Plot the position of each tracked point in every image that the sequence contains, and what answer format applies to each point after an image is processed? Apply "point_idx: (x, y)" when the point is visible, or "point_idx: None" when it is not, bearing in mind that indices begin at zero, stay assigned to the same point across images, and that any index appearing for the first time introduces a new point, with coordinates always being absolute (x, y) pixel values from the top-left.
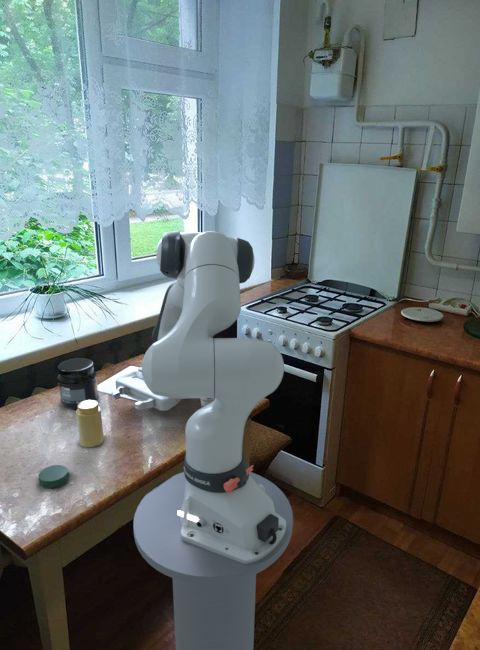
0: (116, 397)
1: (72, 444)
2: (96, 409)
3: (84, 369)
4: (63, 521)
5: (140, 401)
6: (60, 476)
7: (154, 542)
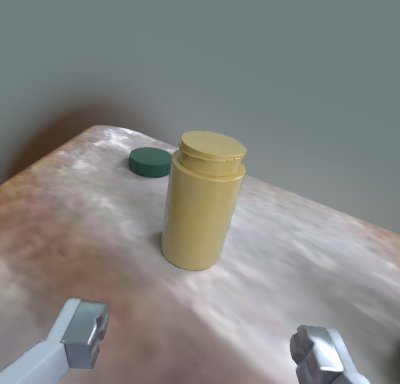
0: (295, 347)
1: None
2: (179, 152)
3: None
4: (79, 137)
5: (77, 339)
6: (134, 153)
7: None
